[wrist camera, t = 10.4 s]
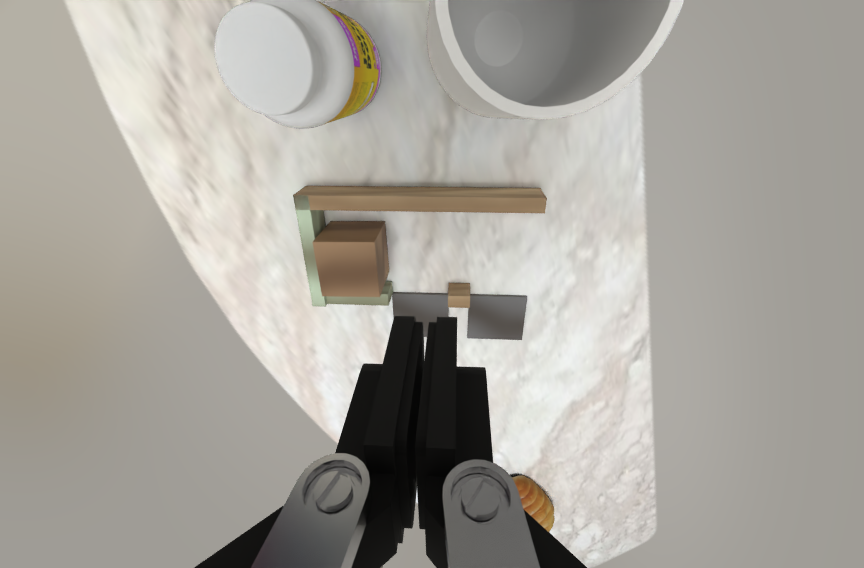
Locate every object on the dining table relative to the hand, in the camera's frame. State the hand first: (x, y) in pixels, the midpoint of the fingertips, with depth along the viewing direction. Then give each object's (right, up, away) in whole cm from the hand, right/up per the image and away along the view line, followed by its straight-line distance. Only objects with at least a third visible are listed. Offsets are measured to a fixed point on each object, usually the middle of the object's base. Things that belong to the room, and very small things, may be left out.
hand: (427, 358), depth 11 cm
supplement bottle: (-7, +18, +19) cm, 27 cm away
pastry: (+12, -27, +42) cm, 51 cm away
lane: (-1, +4, +26) cm, 27 cm away
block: (-6, +5, +26) cm, 27 cm away
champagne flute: (+4, +19, +18) cm, 27 cm away
